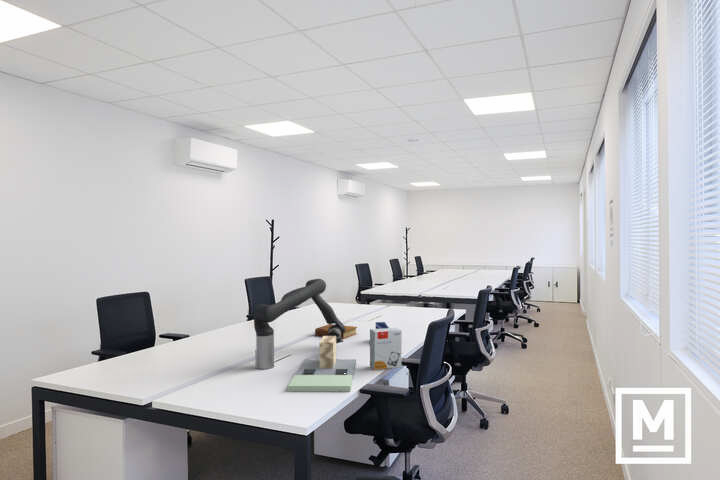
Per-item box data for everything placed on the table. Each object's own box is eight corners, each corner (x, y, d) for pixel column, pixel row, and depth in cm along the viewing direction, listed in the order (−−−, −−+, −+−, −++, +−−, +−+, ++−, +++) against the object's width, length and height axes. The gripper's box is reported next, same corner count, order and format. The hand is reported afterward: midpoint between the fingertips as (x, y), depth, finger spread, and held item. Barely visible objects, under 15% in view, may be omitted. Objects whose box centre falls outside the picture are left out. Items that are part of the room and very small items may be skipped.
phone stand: (394, 344, 292) (394, 325, 292) (376, 344, 292) (375, 325, 292) (393, 339, 304) (393, 321, 304) (375, 340, 304) (375, 322, 304)
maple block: (319, 368, 233) (319, 342, 232) (323, 360, 247) (323, 335, 247) (333, 368, 232) (333, 342, 232) (336, 360, 247) (336, 335, 247)
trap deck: (288, 391, 206) (288, 385, 206) (304, 363, 250) (304, 359, 249) (350, 391, 204) (350, 386, 204) (356, 363, 248) (356, 359, 248)
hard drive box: (373, 370, 236) (373, 331, 235) (369, 366, 243) (369, 328, 243) (402, 367, 240) (401, 329, 240) (397, 364, 247) (396, 327, 247)
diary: (315, 337, 318) (314, 328, 318) (329, 331, 335) (329, 324, 335) (343, 340, 307) (343, 331, 307) (357, 334, 323) (357, 326, 323)
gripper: (322, 329, 269) (318, 336, 252) (345, 329, 269) (342, 336, 251) (322, 342, 269) (318, 350, 252) (345, 342, 269) (342, 349, 251)
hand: (330, 343), depth 252 cm, fingers closed
